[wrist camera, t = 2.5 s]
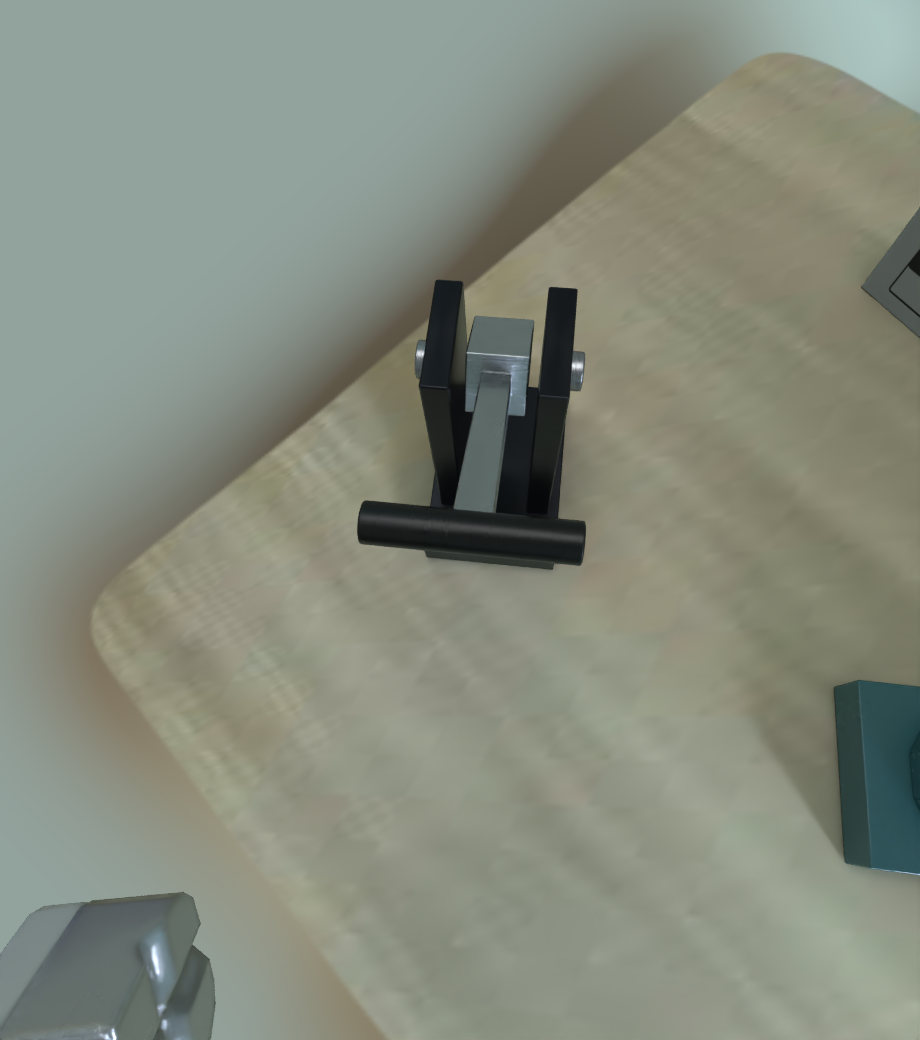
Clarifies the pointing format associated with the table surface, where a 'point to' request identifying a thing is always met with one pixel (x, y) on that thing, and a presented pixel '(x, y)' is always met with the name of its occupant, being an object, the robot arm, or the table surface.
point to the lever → (482, 468)
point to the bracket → (528, 438)
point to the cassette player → (900, 277)
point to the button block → (880, 774)
